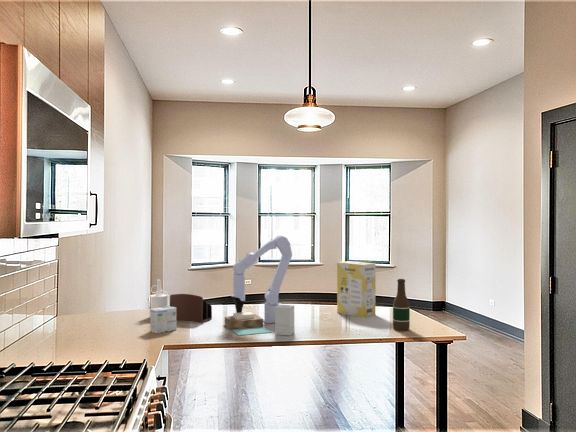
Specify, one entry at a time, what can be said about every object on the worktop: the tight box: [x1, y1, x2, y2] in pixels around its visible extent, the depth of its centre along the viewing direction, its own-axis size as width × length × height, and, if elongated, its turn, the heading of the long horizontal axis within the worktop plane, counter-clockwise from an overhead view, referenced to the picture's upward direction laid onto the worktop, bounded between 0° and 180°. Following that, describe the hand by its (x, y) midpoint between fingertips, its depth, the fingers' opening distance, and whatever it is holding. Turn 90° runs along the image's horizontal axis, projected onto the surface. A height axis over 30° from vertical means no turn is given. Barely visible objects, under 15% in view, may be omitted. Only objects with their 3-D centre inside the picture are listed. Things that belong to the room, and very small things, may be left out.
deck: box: [224, 313, 264, 331], centre depth 248 cm, size 16×12×4 cm
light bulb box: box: [149, 305, 178, 334], centre depth 238 cm, size 11×7×11 cm, turn 134°
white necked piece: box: [149, 279, 171, 309], centre depth 270 cm, size 10×9×20 cm
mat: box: [231, 326, 272, 337], centre depth 236 cm, size 16×11×1 cm
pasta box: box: [336, 260, 376, 319], centre depth 277 cm, size 18×10×28 cm, turn 44°
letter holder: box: [170, 293, 213, 324], centre depth 263 cm, size 10×20×14 cm, turn 69°
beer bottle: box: [392, 278, 411, 332], centre depth 240 cm, size 8×8×24 cm
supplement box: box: [274, 304, 296, 336], centre depth 232 cm, size 7×7×13 cm
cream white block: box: [232, 311, 255, 320], centre depth 248 cm, size 9×6×2 cm, turn 112°
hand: (239, 312), depth 255 cm, fingers closed
